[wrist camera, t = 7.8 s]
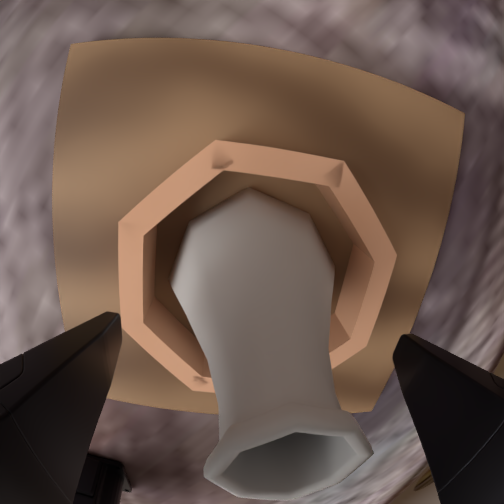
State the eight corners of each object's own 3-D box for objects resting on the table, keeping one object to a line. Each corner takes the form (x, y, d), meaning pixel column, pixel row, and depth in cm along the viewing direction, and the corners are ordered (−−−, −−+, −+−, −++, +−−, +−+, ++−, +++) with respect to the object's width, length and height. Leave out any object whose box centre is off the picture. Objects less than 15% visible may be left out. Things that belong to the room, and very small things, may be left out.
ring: (333, 366, 16) (345, 394, 14) (137, 352, 15) (127, 381, 13) (387, 172, 13) (415, 178, 11) (142, 134, 12) (124, 132, 9)
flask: (245, 156, 12) (305, 188, 3) (357, 261, 14) (490, 407, 5) (143, 278, 14) (55, 460, 4) (256, 357, 16) (284, 534, 6)
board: (365, 400, 20) (371, 411, 18) (85, 380, 17) (79, 391, 16) (451, 113, 13) (464, 113, 12) (81, 49, 11) (71, 44, 10)
